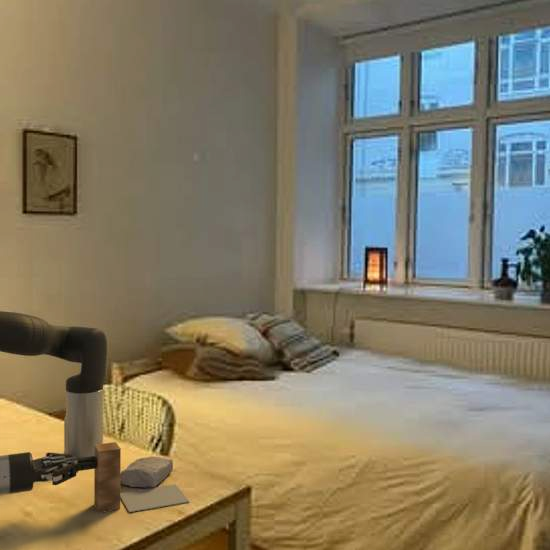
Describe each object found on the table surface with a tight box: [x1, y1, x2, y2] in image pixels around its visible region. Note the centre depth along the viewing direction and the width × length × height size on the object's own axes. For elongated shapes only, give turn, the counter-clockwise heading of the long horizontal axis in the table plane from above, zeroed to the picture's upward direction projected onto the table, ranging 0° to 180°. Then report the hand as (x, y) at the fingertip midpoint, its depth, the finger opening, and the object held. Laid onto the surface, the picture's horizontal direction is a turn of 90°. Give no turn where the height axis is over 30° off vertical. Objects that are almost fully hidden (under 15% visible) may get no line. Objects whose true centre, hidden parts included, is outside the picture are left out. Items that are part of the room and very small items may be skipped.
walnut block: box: [93, 441, 122, 514], centre depth 134 cm, size 4×4×13 cm
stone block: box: [120, 455, 174, 489], centre depth 150 cm, size 12×5×10 cm
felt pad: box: [120, 483, 190, 514], centre depth 139 cm, size 13×10×1 cm
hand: (96, 462), depth 133 cm, fingers closed
